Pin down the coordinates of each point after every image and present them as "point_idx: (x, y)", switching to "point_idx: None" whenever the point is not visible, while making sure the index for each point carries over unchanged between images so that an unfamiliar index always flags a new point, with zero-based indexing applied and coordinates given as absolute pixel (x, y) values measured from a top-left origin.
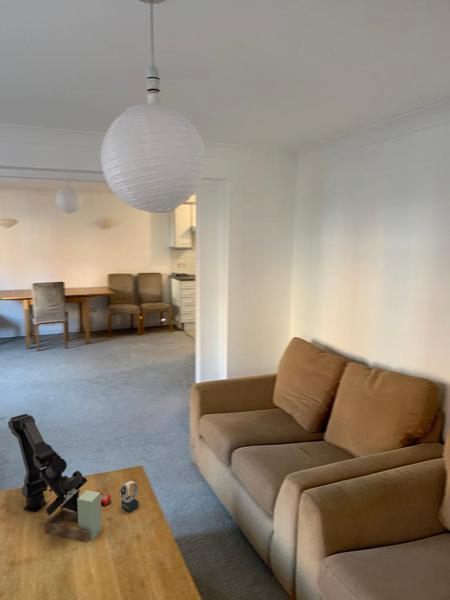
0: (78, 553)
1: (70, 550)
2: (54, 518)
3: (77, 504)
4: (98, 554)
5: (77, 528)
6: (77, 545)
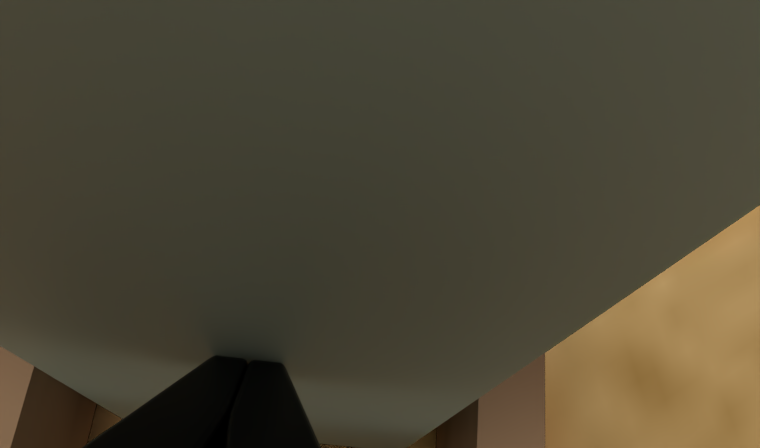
0: (705, 279)
1: (700, 419)
2: None
3: (701, 242)
4: None
5: (493, 416)
6: (582, 369)
